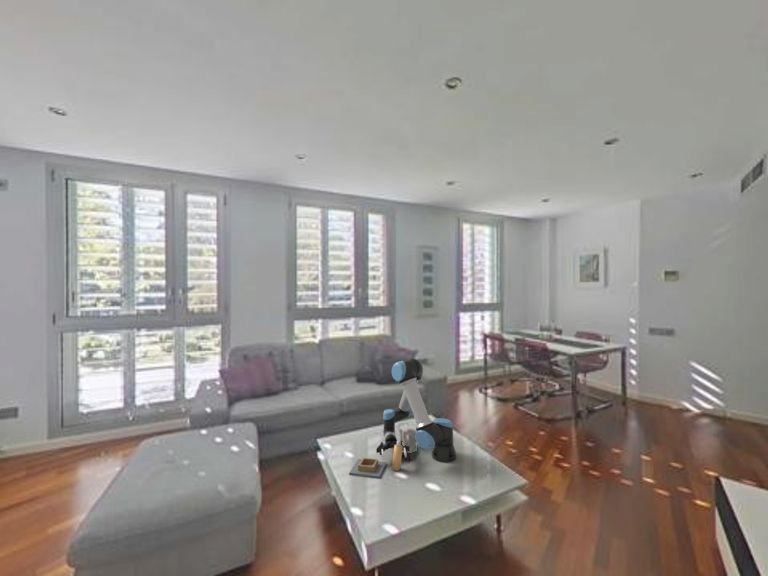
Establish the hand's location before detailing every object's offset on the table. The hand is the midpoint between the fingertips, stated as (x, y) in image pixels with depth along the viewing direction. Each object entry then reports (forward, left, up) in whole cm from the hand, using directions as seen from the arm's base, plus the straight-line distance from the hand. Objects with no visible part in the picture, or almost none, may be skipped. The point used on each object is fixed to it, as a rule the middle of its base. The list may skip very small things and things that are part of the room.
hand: (394, 455), depth 213 cm
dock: (+15, +4, -8) cm, 17 cm away
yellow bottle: (-1, 0, -8) cm, 8 cm away
